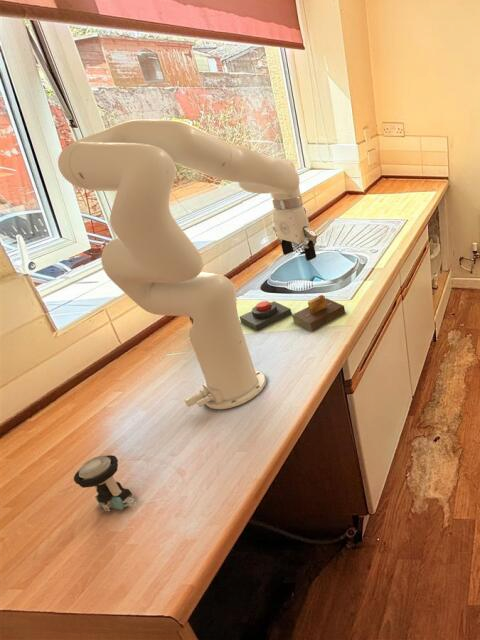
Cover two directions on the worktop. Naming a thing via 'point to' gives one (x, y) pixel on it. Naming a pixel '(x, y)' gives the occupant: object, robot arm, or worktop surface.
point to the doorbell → (265, 316)
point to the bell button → (263, 306)
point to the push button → (104, 482)
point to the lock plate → (319, 315)
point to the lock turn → (317, 304)
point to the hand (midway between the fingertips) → (299, 256)
